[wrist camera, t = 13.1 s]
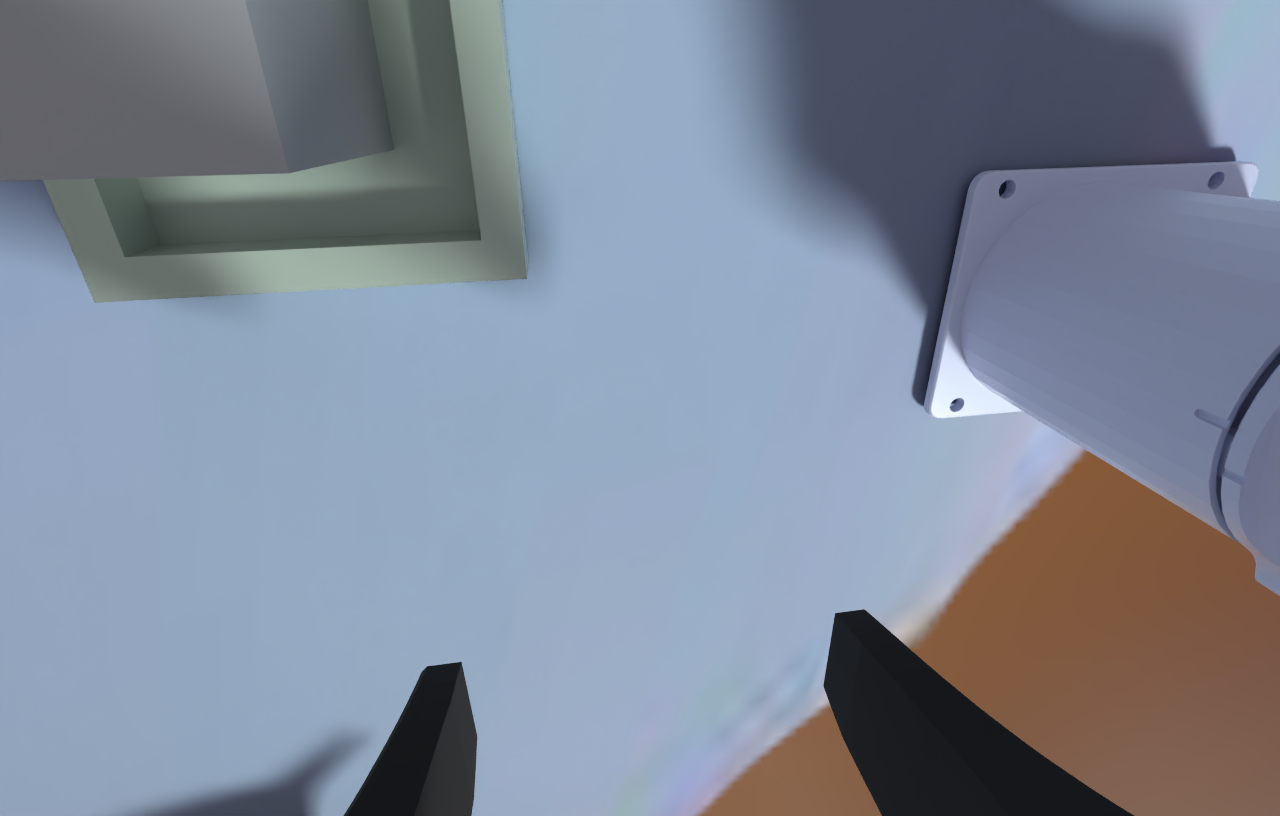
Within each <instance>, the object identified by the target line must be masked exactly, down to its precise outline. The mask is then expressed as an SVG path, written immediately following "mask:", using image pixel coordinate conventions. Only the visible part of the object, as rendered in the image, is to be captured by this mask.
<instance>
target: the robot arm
mask: <svg viewBox="0 0 1280 816" xmlns="http://www.w3.org/2000/svg"><path fill="white" fill-rule="evenodd" d="M1257 177H1258V167H1257V165H1256V164H1255V163H1252V162H1243V161H1234V162H1207V163H1180V164H1153V165H1126V166H1100V167H1073V168H1046V169H1019V170H992V171H984V172H981V173H980V174H978V175H977V176H975V178H974V179H973V180H972V182H971V183H970V186H969V189H968V193H967V198H966V203H965V207H964V212H963V217H962V222H961V227H960V232H959V236H958V241H957V246H956V251H955V256H954V261H953V266H952V270H951V275H950V280H949V285H948V290H947V295H946V300H945V304H944V309H943V314H942V319H941V324H940V329H939V334H938V338H937V343H936V348H935V353H934V358H933V363H932V368H931V372H930V377H929V382H928V387H927V392H926V397H925V402H924V409H925V411H926V412H927V413H928V414H930V415H931V416H932V417H934V418H939V419H941V418H952V417H963V416H974V415H985V414H996V413H1007V412H1018V411H1024V412H1025V413H1027V414H1029V415H1030V416H1032V417H1034V418H1035V419H1037V420H1039V421H1040V422H1042V423H1043V424H1045V425H1047V426H1048V427H1050V428H1052V429H1053V430H1055V431H1057V432H1058V433H1060V434H1061V435H1063V436H1065V437H1066V438H1068V439H1070V440H1071V441H1073V442H1075V443H1076V444H1078V445H1079V446H1081V447H1083V448H1084V449H1086V450H1088V451H1089V452H1091V453H1093V454H1094V455H1096V456H1098V457H1099V458H1101V459H1102V460H1104V461H1106V462H1107V463H1109V464H1111V465H1112V466H1114V467H1115V468H1117V469H1119V470H1120V471H1122V472H1124V473H1125V474H1127V475H1129V476H1130V477H1132V478H1133V479H1135V480H1137V481H1138V482H1140V483H1142V484H1143V485H1145V486H1147V487H1148V488H1150V489H1151V490H1153V491H1155V492H1156V493H1158V494H1160V495H1162V496H1163V497H1165V498H1166V499H1168V500H1169V501H1171V502H1173V503H1175V504H1176V505H1178V506H1180V507H1181V508H1183V509H1184V510H1186V511H1188V512H1189V513H1191V514H1192V515H1194V516H1196V517H1197V518H1199V519H1201V520H1202V521H1204V522H1205V523H1207V524H1209V525H1210V526H1212V527H1214V528H1215V529H1217V530H1219V531H1220V532H1222V533H1224V534H1225V535H1227V536H1228V537H1230V538H1232V539H1234V540H1235V541H1237V542H1240V543H1241V544H1243V545H1244V546H1245V547H1246V548H1247V549H1248V550H1249V551H1250V552H1251V553H1252V554H1253V555H1254V558H1255V560H1256V572H1255V579H1256V581H1258V582H1259V583H1261V584H1262V585H1264V586H1265V587H1267V588H1269V589H1270V590H1272V591H1273V592H1275V593H1276V594H1278V595H1279V596H1280V201H1272V200H1263V199H1255V198H1250V195H1251V193H1252V190H1253V188H1254V185H1255V183H1256V180H1257ZM1210 178H1211V180H1210V182H1209V183H1208V181H1209V179H1210ZM1003 182H1006V189H1005V192H1004V193H1003V194H1002V195H1001V196H1000V195H999V188H1000V186H1001V184H1002V183H1003ZM954 399H957V401H956V403H955V404H954V405H953V406H950V404H951V402H952V401H953V400H954ZM824 688H825V691H826V694H827V697H828V700H829V702H830V705H831V708H832V710H833V713H834V716H835V719H836V721H837V723H838V726H839V729H840V731H841V734H842V737H843V739H844V741H845V743H846V745H847V747H848V749H849V751H850V753H851V755H852V757H853V759H854V761H855V763H856V765H857V767H858V769H859V771H860V773H861V775H862V777H863V779H864V781H865V783H866V785H867V787H868V789H869V791H870V793H871V795H872V797H873V799H874V801H875V803H876V804H877V807H878V809H879V811H880V812H881V814H882V816H1134V815H1132V814H1131V813H1129V812H1127V811H1125V810H1124V809H1122V808H1121V807H1119V806H1117V805H1116V804H1114V803H1113V802H1111V801H1110V800H1108V799H1106V798H1105V797H1103V796H1102V795H1100V794H1099V793H1097V792H1095V791H1094V790H1092V789H1091V788H1089V787H1088V786H1087V785H1085V784H1084V783H1082V782H1081V781H1079V780H1078V779H1076V778H1075V777H1073V776H1072V775H1070V774H1069V773H1067V772H1066V771H1064V770H1063V769H1062V768H1060V767H1059V766H1057V765H1056V764H1054V763H1052V762H1051V761H1050V760H1048V759H1047V758H1045V757H1044V756H1043V755H1041V754H1040V753H1039V752H1037V751H1036V750H1034V749H1033V748H1031V747H1030V746H1029V745H1027V744H1026V743H1025V742H1023V741H1022V740H1021V739H1019V738H1018V737H1017V736H1015V735H1014V734H1013V733H1011V732H1010V731H1009V730H1008V729H1006V728H1005V727H1004V726H1002V725H1001V724H1000V723H998V722H997V721H996V720H994V719H993V718H992V717H990V716H989V715H988V714H987V713H985V712H984V711H983V710H981V709H980V708H979V707H978V706H976V705H975V704H974V703H973V702H972V701H970V700H969V699H968V698H967V697H965V696H964V695H963V694H962V693H961V692H960V691H958V690H957V689H956V688H955V687H953V686H952V685H951V684H950V683H949V682H947V681H946V680H945V679H944V678H942V677H941V676H940V675H939V674H938V673H937V672H936V671H934V670H933V669H932V668H931V667H930V666H929V665H927V664H926V663H925V662H924V661H923V660H922V659H921V658H919V657H918V656H917V655H916V654H915V653H914V652H912V651H911V650H910V649H909V648H908V647H907V646H906V645H904V644H903V643H902V642H901V641H900V640H899V639H898V638H897V637H895V636H894V635H893V634H892V633H891V632H890V631H889V630H887V629H886V628H885V627H884V626H883V625H882V624H881V623H879V622H878V621H877V620H876V619H875V618H874V617H873V616H871V615H870V614H869V613H868V612H867V611H866V610H857V611H849V612H841V613H835V618H834V624H833V631H832V637H831V643H830V649H829V655H828V662H827V668H826V674H825V680H824ZM476 749H477V733H476V729H475V724H474V719H473V715H472V710H471V705H470V700H469V696H468V691H467V686H466V681H465V677H464V672H463V667H462V662H458V663H450V664H442V665H435V666H427V667H426V668H425V669H424V670H423V671H422V673H421V675H420V677H419V679H418V681H417V684H416V686H415V688H414V690H413V692H412V694H411V696H410V698H409V700H408V702H407V704H406V706H405V708H404V710H403V712H402V714H401V716H400V718H399V720H398V722H397V724H396V726H395V728H394V730H393V731H392V733H391V735H390V737H389V739H388V741H387V743H386V745H385V746H384V748H383V750H382V752H381V753H380V755H379V757H378V759H377V760H376V762H375V764H374V766H373V767H372V769H371V771H370V773H369V775H368V776H367V778H366V780H365V782H364V783H363V785H362V787H361V789H360V790H359V792H358V794H357V795H356V797H355V799H354V800H353V802H352V803H351V805H350V807H349V808H348V810H347V811H346V813H345V815H344V816H471V814H472V807H473V800H474V787H475V770H476Z"/></svg>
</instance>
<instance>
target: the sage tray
mask: <svg viewBox="0 0 1280 816" xmlns="http://www.w3.org/2000/svg"><path fill="white" fill-rule="evenodd" d="M368 5H369V11H370V17H371V22H372V28H373V34H374V39H375V45H376V50H377V56H378V62H379V67H380V73H381V79H382V84H383V90H384V95H385V101H386V107H387V112H388V118H389V124H390V129H391V135H392V140H393V146H394V150H391V151H387V152H383V153H378V154H374V155H369V156H365V157H360V158H356V159H351V160H347V161H342V162H338V163H333V164H329V165H324V166H320V167H315V168H311V169H306V170H302V171H297V172H293V173H287V174H249V175H211V176H173V177H135V178H97V179H60V180H42V181H43V183H44V185H45V188H46V190H47V192H48V195H49V197H50V199H51V202H52V204H53V206H54V209H55V211H56V213H57V216H58V218H59V220H60V223H61V225H62V227H63V230H64V232H65V234H66V237H67V239H68V241H69V244H70V246H71V248H72V251H73V253H74V255H75V258H76V260H77V262H78V265H79V267H80V269H81V272H82V274H83V276H84V279H85V281H86V283H87V286H88V288H89V290H90V293H91V295H92V297H93V300H94V302H95V303H96V302H114V301H132V300H150V299H168V298H186V297H204V296H222V295H240V294H258V293H276V292H294V291H312V290H330V289H348V288H366V287H384V286H402V285H420V284H439V283H457V282H475V281H493V280H511V279H527V274H528V263H529V261H528V251H527V241H526V231H525V222H524V212H523V202H522V192H521V182H520V172H519V162H518V153H517V143H516V133H515V123H514V113H513V103H512V93H511V83H510V74H509V64H508V54H507V44H506V34H505V24H504V14H503V5H502V0H368Z"/></svg>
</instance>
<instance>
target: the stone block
mask: <svg viewBox="0 0 1280 816" xmlns="http://www.w3.org/2000/svg"><path fill="white" fill-rule="evenodd" d="M391 150H394V146H393V140H392V135H391V129H390V124H389V118H388V112H387V107H386V101H385V95H384V90H383V84H382V79H381V73H380V67H379V62H378V56H377V50H376V45H375V39H374V34H373V28H372V22H371V17H370V11H369V5H368V0H0V181H22V180H60V179H97V178H135V177H173V176H211V175H249V174H287V173H293V172H297V171H302V170H306V169H311V168H315V167H320V166H324V165H329V164H333V163H338V162H342V161H347V160H351V159H356V158H360V157H365V156H369V155H374V154H378V153H383V152H387V151H391Z"/></svg>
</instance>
